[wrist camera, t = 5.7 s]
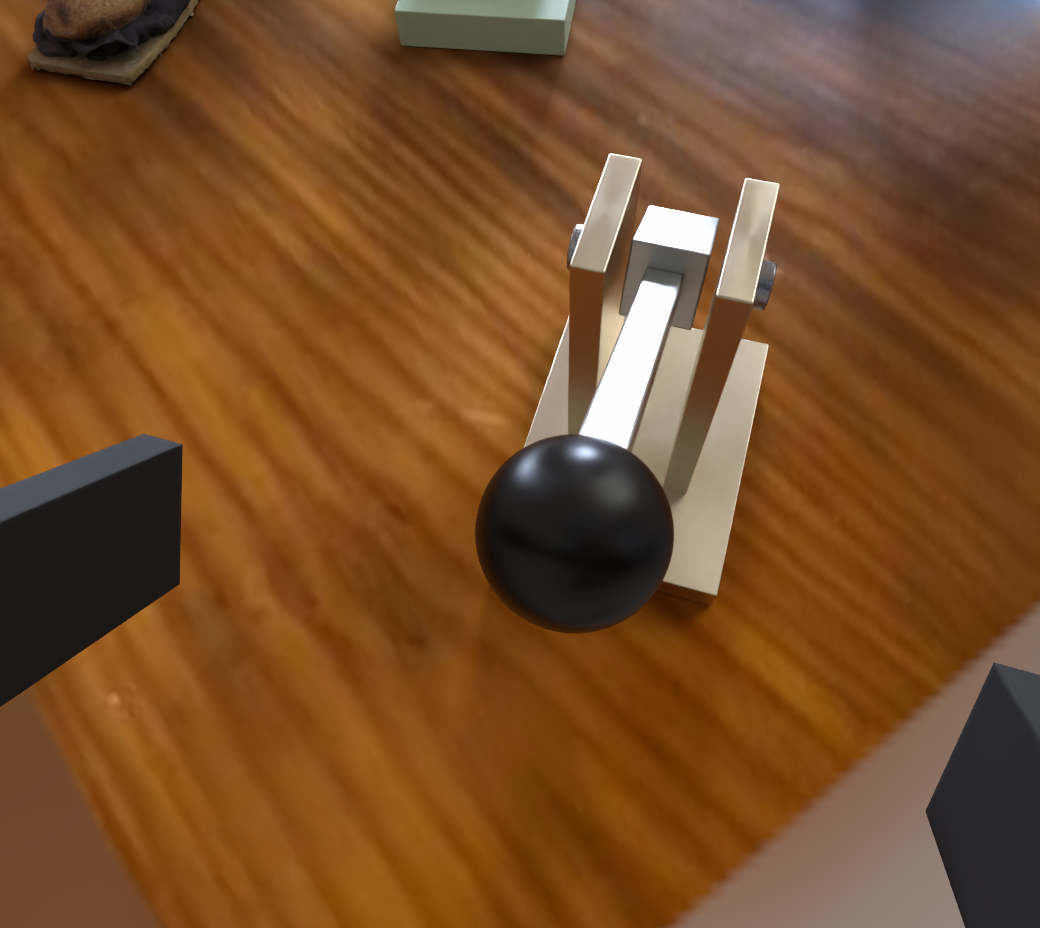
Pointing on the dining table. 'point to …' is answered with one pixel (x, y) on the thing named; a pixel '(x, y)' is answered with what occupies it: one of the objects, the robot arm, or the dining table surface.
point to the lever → (599, 461)
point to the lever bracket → (671, 370)
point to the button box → (486, 24)
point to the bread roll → (106, 36)
